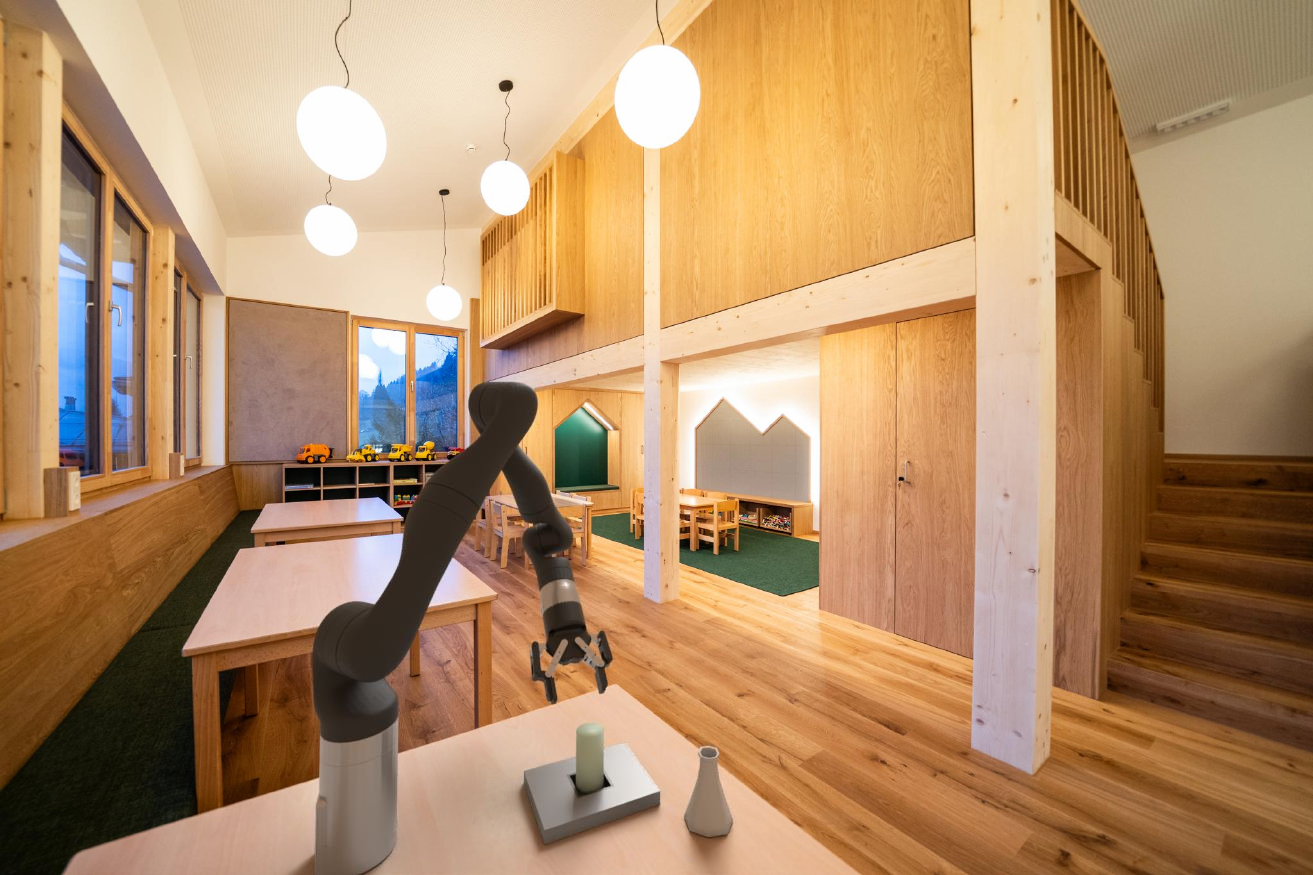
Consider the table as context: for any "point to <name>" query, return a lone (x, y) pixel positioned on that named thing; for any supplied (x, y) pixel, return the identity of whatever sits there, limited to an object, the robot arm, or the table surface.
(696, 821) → the flask
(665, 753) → the table surface
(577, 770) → the peg
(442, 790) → the table surface
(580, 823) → the socket plate
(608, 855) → the table surface
